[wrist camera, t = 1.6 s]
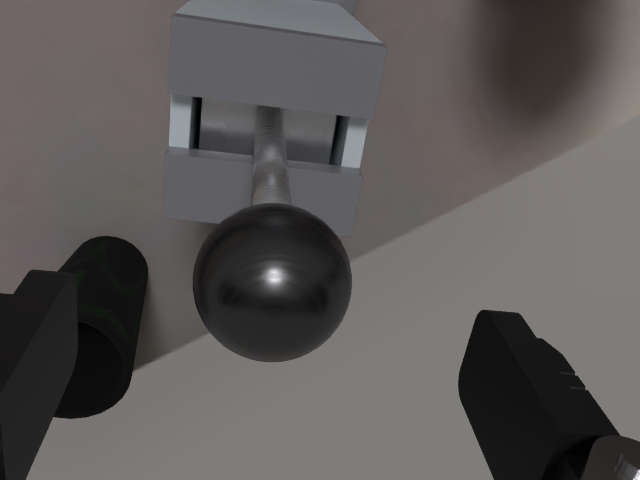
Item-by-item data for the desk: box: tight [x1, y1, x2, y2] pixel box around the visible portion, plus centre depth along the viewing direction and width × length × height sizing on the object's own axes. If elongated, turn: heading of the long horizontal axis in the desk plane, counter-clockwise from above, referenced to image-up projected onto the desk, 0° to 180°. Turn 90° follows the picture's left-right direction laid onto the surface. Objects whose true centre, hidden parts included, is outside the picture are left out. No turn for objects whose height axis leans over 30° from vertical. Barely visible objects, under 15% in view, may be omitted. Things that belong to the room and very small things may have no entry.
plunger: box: [193, 98, 352, 362], centre depth 20 cm, size 6×6×17 cm
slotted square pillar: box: [163, 0, 387, 237], centre depth 32 cm, size 10×10×18 cm
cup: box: [53, 236, 148, 419], centre depth 41 cm, size 8×8×12 cm
